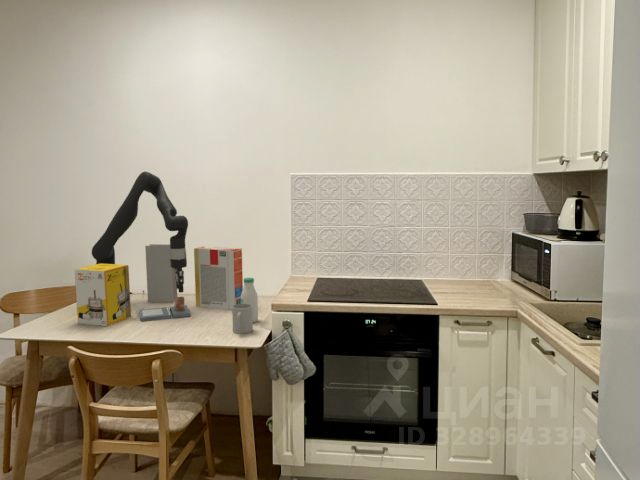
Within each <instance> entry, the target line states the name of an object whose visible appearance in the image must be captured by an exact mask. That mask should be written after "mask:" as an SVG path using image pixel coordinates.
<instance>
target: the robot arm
mask: <svg viewBox="0 0 640 480" xmlns="http://www.w3.org/2000/svg"><path fill="white" fill-rule="evenodd" d="M144 192H147V193H150V194H151V195H152V196H153V197H154V198H155V199H156V207H157V210H158V211H159V212H160V213H161V216H162V218H163V221H164V226H165V228H166V230H168V231H170V232H176V231H177V233H176V234H175V235H172V236H170V238H169V245H170V262H171V268H175V279H176V286H177V290H178V293H184V284H185V272H184V270H183V268H187V266H188V265H187V262H188V260H187V250H186V237H187V232H188V227H189V220H188V218H187V217H186V216H185V215H177V213H178V212H177V211H178V210H177V208H176V207H175V206H174V204H173V203H172V201H171V200H170V197H168V194H167V192H166V189H165V187H164V185H163V183H162V180H161V179H160V177H158V176H156V175H155V174H153V173H150V172H149V171H142V172H141V173H140V174H139V175H138V176H137V178H136V179H135V181H134V183H133V185H132V187H131V189H130V190H129V192H128V194H127V196H126V198H125V199H124V201H123V202H122V204H121V205H120V207H119V208H118V209H117V211H116V212H115V214H114V215H113V217H112V219H111V221H110V222H109V224H108V226H107V228H106V230H105V231H104V233H103V234H102V235H101V237H100V238H99V239H98V240H97V242H95V244H94V245H93V246H92V249H91V256H92V258H93V259H94V260H95V262H96V264H116V256H115V255H116V252H115V246H116V243H117V242H118V241H119V240H120V238H121V237H122V236H124V234H125V233H126V232H127V230H129V228H130V227H131V226H132V225H133V223H134V221H135V220H136V218H137V216H138V211H139V200H140V198H141V196H142V194H143V193H144ZM96 264H95V265H96Z"/></svg>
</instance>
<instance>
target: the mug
mask: <svg viewBox="0 0 640 480" xmlns="http://www.w3.org/2000/svg"><path fill="white" fill-rule="evenodd" d="M231 313H232V332H233V333H235V334H238V335H239V334H240V335H241V334H243V335H244V334H250V333H252V332H253V331H254V329H253V328H254V326H253V323H252V305H251V304H236V305H233V306H232V310H231Z"/></svg>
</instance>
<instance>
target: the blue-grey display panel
mask: <svg viewBox="0 0 640 480" xmlns="http://www.w3.org/2000/svg"><path fill="white" fill-rule="evenodd" d="M138 317H139V322H140V321H141V322H149V321H158V320H159V321H160V320H169V319H170V320H171V319H172V318H173V316H172V313H171V311H170V306H165V307H164V306H163V307H154V308H153V307H152V308H143V309H142V308H141V309H138Z"/></svg>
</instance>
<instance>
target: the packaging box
mask: <svg viewBox="0 0 640 480" xmlns="http://www.w3.org/2000/svg"><path fill="white" fill-rule="evenodd" d="M129 269H130V267H129V264H119V263H118V264H116V263H115V264H92V265H88V266H84V267H79V268H75V269H74V280H75V281H74V282H75V297H76V298H75V299H76V311H77V315H76V316H77V324H79V325H80V324H81V325H90V326H91V325H92V326H99V325H101V327H109V325H110V326H111V324H112V325H115V324H117V323H119V321H120V322H122V321H124V320H126V319H129V318H132V309H131V308H132V306H131V288H130V271H129ZM121 320H122V321H121ZM116 322H117V323H116ZM114 323H115V324H114Z"/></svg>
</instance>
